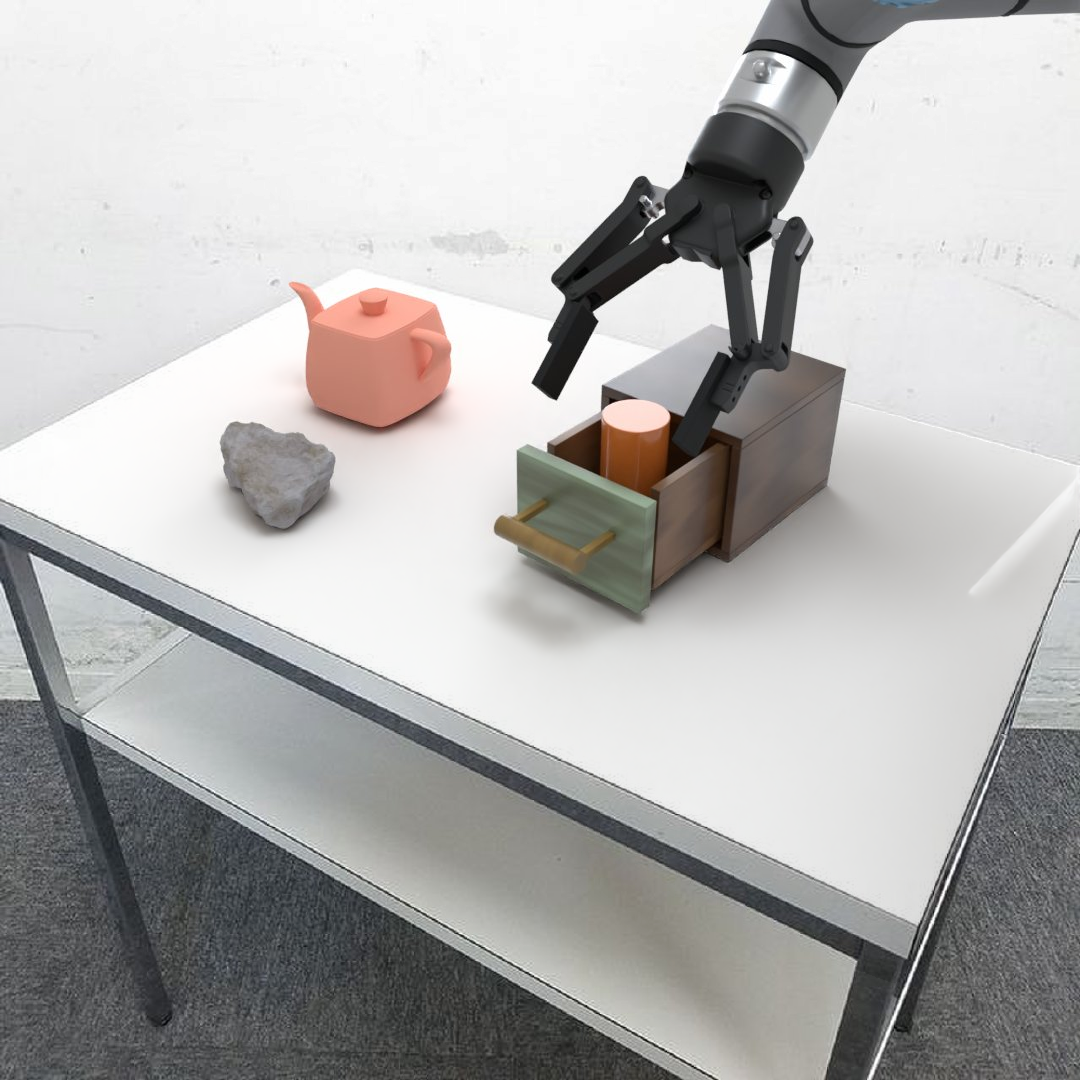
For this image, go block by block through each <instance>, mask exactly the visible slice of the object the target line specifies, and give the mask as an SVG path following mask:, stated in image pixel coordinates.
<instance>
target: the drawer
mask: <svg viewBox="0 0 1080 1080" xmlns="http://www.w3.org/2000/svg"><path fill="white" fill-rule="evenodd" d="M602 412H603V410H602V411H601V410H600V411H599V412H597V413H595V414H593V415H592V416H590V417H588V418H587V419H584V420H583V421H582V422H580V423H578V424H576V425H574V426H573V427H571V428H569V429H568V430H566V431H564V432H562V433H560V434H559V435H558V436H556V437H553V438H552V439H550V440H549V441H547V442H546V451H544V450H543V449H541V448H538V447H536V446H534V445H531V444H528V443H526V444H524V445H523V446H521V447H519V448H517V449H516V503H517V504H516V514H515V515H513V516H511V515H509V514H508V513H504V514H501V515H499V517H498V518H497V519H496V521H495V522H494V526H493V533H494V535H496V536H497V537H499V538H501V539H503V540H505V541H507V542H508V543H511V544H513V545H515V546H516V547H517V552H518V553H519V554H522V555H523V556H525V557H527V558H529V559H531V560H533V561H535V562H537V563H539V564H541V565H543V566H544V567H547V568H549V569H551V570H552V571H555V572H557V573H559V574H561V575H562V576H563V577H566V578H568V579H570V580H572V581H574V582H575V583H578V584H580V585H582V586H583V587H586V588H588V589H590V590H592V591H594V592H596V593H597V594H600V595H601V596H604V597H605V598H607V599H609V600H611V601H613V602H615V603H617V604H619V605H621V606H623V607H625V608H627V609H629V610H630V611H633V612H634V613H637V614H642V613H643V612H644V611H645V610H647V609H648V608H649V607H650V606H651V605H650V604H651V590H652V591H655V590H656V589H657V588H658V587H659V586H661V585H662V584H663V583H664V582H666V581H667V580H668V579H670V578H671V577H672V576H674V575H675V574H677V573H678V572H679V571H680V570H682V569H683V568H684V567H686V566H687V565H688V564H690V563H691V562H692V561H694V560H695V559H696V558H697V557H699V556H700V555H702V554H703V553H704V552H705V550H707V549H708V548H709V547H710V546H712V545H713V544H714V543H716V542H717V541H718V540H720V539H721V538H722V537H723V528H724V519H725V510H726V500H727V491H728V482H729V473H730V463H731V454H732V445H730V444H727V443H725V442H722V441H719V440H717V439H714V438H712V437H709V436H707V438H706V440H705V442H704V444H703V446H702V447H701V449H700V451H699V453H698V455H697V457H696V458H695V457H693V456H690V455H688V454H686V453H685V452H684V451H683V450H682V449H681V448H680V447H679V446H678V445H677V444H675V443H674V442H673V441H672V438H673V436H674V434H675V433H676V431H677V429H678V427H679V424H676V423H674V422H671V421H670V432H669V446H668V460H667V474H666V478H664V479H663V480H661V481H660V482H658V483H657V484H656V485H654V486H653V487H651V493H650V498H649V497H646V496H644V495H642V494H640V493H637V492H635V491H633V490H630V489H628V488H626V487H624V486H621V485H619V484H617V483H615V482H612V481H610V480H608V479H606V478H603V477H601V476H600V448H601V419H602Z"/></svg>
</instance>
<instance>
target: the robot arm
mask: <svg viewBox="0 0 1080 1080" xmlns="http://www.w3.org/2000/svg"><path fill="white" fill-rule="evenodd" d="M1060 14H1061V15H1063V14H1064V15H1065V14H1080V0H769V2H768V5H767V6H766V8H765V10H764V12H763V15H762V16H761V18H760V20H759V22H758V24H757V26H756V27H755V30H754V32H753V34H752V36H751V37H750V39H749V42H748V43H747V45H746V47H745V49H744V50H743V52H742V54H741V56H740V57H739V59H738V61H737V63H736V64H735V67H734V69H733V70H732V73H731V74H730V76H729V78H728V80H727V82H726V84H725V85H724V88H723V89H722V91H721V93H720V95H719V97H718V98H717V100H716V103H715V105H714V108H713V113H714V114H713V115H710V116H709V117H707V120H706V121H705V123H704V124H703V126H702V128H701V130H700V132H699V134H698V135H697V138H696V140H695V142H694V143H693V145H692V147H691V150H689V153H688V155H687V157H686V160H685V165H684V170H683V172H682V175H681V177H680V178H679V180H678V181H676V183H675V184H674V185H672V186H671V187H670V188H665V187H661V186H659V185H655V184H653V183H651V181H650V180H649V178H648V177H647V176H645V175H639V176H637V177H636V178H635V179H634V180H633V182H632V183H631V185H630V187H629V188H628V191H627V192H626V194H625V196H624V198H623V200H622V202H621V203H620V204H619V205H618V206H616V208H615V209H614V210H613V211H611V213H610V214H609V215H608V216H607V217H606V218H605V219H604V220H603V221H602V223H599V226H597V228H595V229H594V230H593V231H592V233H590V234H589V236H588V237H587V238H586V239H585V240H584V241H583V242H581V244H580V245H579V246H578V247H577V248H576V249H575V250H574V251H573V252H572V253H570V255H569V256H568V257H567V258H566V259H565V260H564V261H563V262H562V263H561V265H560V266H558V267H557V269H556V270H554V272H553V273H552V274H551V277H550V281H551V283H552V285H553V286H554V287H555V288H557V289H558V290H559V291H560V293H561V294H562V295H563V297H564V303H563V305H562V307H561V309H560V311H559V312H558V314H557V317H556V319H555V321H554V322H553V324H552V327H551V328H550V330H549V331H548V334H547V339H546V340H547V342H548V343H549V344H551V345H550V347H549V349H548V351H547V352H546V354H545V356H544V358H543V360H542V361H541V364H540V366H539V367H538V369H537V371H536V373H535V375H534V377H533V378H532V381H531V382H530V384H532V385H533V386H534V387H535V388H537V390H539V391H540V392H541V393H542V394H544V395H545V396H546V397H547V398H549V399H551V400H554V401H555V402H557V401H558V400H559V398H560V396H561V393H562V392H563V390H564V388H565V386H566V384H567V382H568V380H569V379H570V377H571V375H572V374H573V372H574V369H575V368H576V366H577V364H578V362H579V360H580V358H581V357H582V354H583V352H584V350H585V349H586V346H587V345H588V343H589V341H590V339H591V337H592V335H593V333H594V331H595V329H596V327H597V325H598V324H599V322H600V321H599V320H598V318H596V316H595V313H594V312H595V311H597V310H598V309H599V308H601V307H602V306H604V305H605V304H606V303H608V302H609V301H611V300H612V299H614V298H615V297H617V296H618V295H619V294H621V293H623V292H624V291H626V290H627V289H628V288H630V287H631V286H633V285H634V284H636V283H637V282H638V281H641V280H642V279H643V278H644V277H646V276H647V275H649V274H650V273H652V272H653V271H654V270H656V269H658V268H659V267H661V266H662V265H669V264H672V263H674V262H676V261H677V260H678V259H680V258H681V259H682V260H685V261H686V262H687V261H688V262H691V263H703V264H704V265H706V266H708V267H709V268H710V269H714V270H717V271H722V278H723V287H724V295H725V304H726V312H727V313H726V314H727V322H728V330H729V331H730V340H731V347H730V346H728V348H729V350H730V351H731V353H732V354H733V355H732V357H731V358H730V357H729V355H727V354H725V353H722V352H719V351H718V352H717V354H716V356H715V358H714V360H713V362H712V364H711V366H710V368H709V369H708V371H707V373H706V375H705V377H704V379H703V381H702V383H701V385H700V387H699V389H698V390H697V392H696V394H695V396H694V398H693V400H692V402H691V404H690V406H689V408H688V410H687V411H686V413H685V415H684V417H683V419H682V421H681V423H680V425H679V427H678V429H677V431H676V433H675V434H674V436H673V438H672V441H673V442H674V443H675V444H677V445H678V446H679V447H680V448H681V449H682V450H683V451H684V452H685V453H686V454H688V455H690V456H693V457H695V458H696V457H697V455H698V453H699V451H700V449H701V447H702V446H703V444H704V442H705V440H706V438H707V436H708V434H709V432H710V430H711V428H712V426H713V424H714V423H715V421H716V419H717V417H718V415H719V413H720V411H722V412H725V413H727V414H729V413H730V412H731V411H732V410H733V409H734V408H735V407H736V405H737V403H738V400H739V399H740V397H741V394H742V393H743V391H744V389H745V387H746V386H747V384H748V382H749V380H750V378H751V376H752V375H753V374H754V373H755V372H756V371H758V370H761V369H773V370H775V371H777V372H781V371H784V370H785V369H787V367H788V366H789V363H790V355H791V351H792V346H793V338H794V330H795V322H796V314H797V306H798V298H799V290H800V284H801V283H800V282H801V274H802V267H803V265H804V263H805V261H806V259H807V257H808V255H809V253H810V251H811V249H812V247H813V246H814V237H813V235H812V234H811V231H810V230H809V228H808V226H807V224H806V222H805V221H804V219H803V218H802V217H800V216H797V215H794V216H791V217H790V218H788V220H785V219H781V218H778V217H779V213H780V212H782V211H783V210H784V209H785V207H786V206H787V203H788V202H789V200H790V198H791V196H792V194H793V192H794V191H795V189H796V186H797V185H798V183H799V181H800V179H801V177H802V175H803V173H804V171H805V166H806V165H805V162H808V161H809V160H811V158H812V156H813V154H814V153H815V151H816V149H817V147H818V145H819V142H820V141H821V139H822V137H823V135H824V133H825V131H826V129H827V127H828V125H829V123H830V121H831V120H832V117H833V115H834V113H835V112H836V109H837V107H838V105H839V103H840V101H841V99H842V97H843V96H844V93H845V92H846V90H847V88H848V86H849V84H850V82H851V80H852V79H853V77H854V76H855V74H856V72H857V70H858V68H859V66H860V64H861V62H862V61H863V59H864V58H865V56H866V55H867V53H868V52H869V51H870V50H871V49H873V48H874V47H876V46H877V45H879V43H882V42H883V41H885V40H886V39H887V38H889V37H890V36H892V35H893V34H894V33H896V32H897V31H898V30H900V29H901V28H902V27H904V26H905V25H907V24H909V23H914V22H919V21H920V22H922V21H923V22H925V21H941V20H944V21H945V20H946V21H947V20H963V19H964V20H965V19H983V18H1000V17H1003V18H1006V17H1010V16H1029V15H1030V16H1035V15H1036V16H1037V15H1060ZM663 210H664V213H663V215H661V216H660V213H659V212H661V211H663ZM652 219H653V220H654V221H653V222H652V223H650V221H651V220H652ZM649 223H650V224H649ZM642 232H643V234H642ZM640 234H642V235H641V236H640V237H638V236H639V235H640ZM637 237H638V238H637ZM665 237H667V238H668V242H665V240H663V239H664V238H665ZM770 240H771V242H770V243H771V247H772V248H773V251H772V252H773V253H772V257H771V265H770V271H769V272H770V273H769V280H768V288H767V295H766V300H765V301H766V302H765V308H764V309H765V310H764V316H763V317H764V318H763V325H762V331H761V332H762V333H761V339H759V334H758V333H759V332H758V325H757V316H756V308H755V300H754V292H753V283H752V281H753V279H754V277H753V270H752V261H751V253H752V252H753V251H755V250H756V249H758V248H760V247H762V246H763V245H764V244H766V243H767V242H769V241H770ZM759 340H761V343H759Z"/></svg>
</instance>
